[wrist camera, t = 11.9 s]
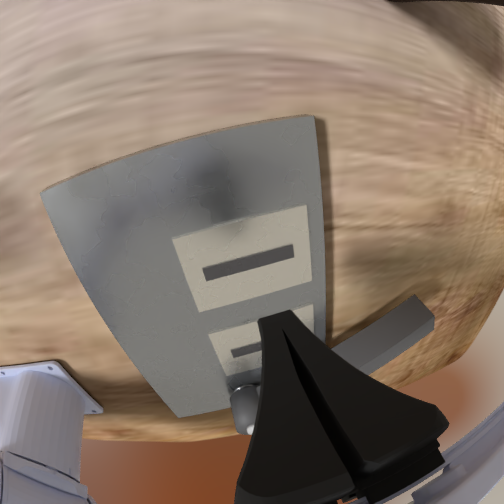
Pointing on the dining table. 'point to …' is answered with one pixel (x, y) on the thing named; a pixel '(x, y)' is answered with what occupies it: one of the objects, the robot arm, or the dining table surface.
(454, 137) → the dining table surface
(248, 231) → the plate
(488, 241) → the dining table surface
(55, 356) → the dining table surface
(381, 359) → the cable arm
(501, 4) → the coffee mug
